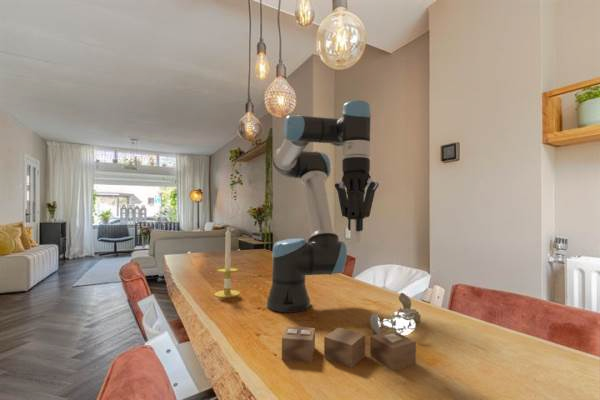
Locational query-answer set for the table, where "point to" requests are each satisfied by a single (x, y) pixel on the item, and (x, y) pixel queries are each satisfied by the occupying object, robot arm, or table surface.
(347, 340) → the plain block
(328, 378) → the table surface
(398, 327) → the figurine
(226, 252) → the candle
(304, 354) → the dot block two
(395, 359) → the dot block one
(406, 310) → the bone
